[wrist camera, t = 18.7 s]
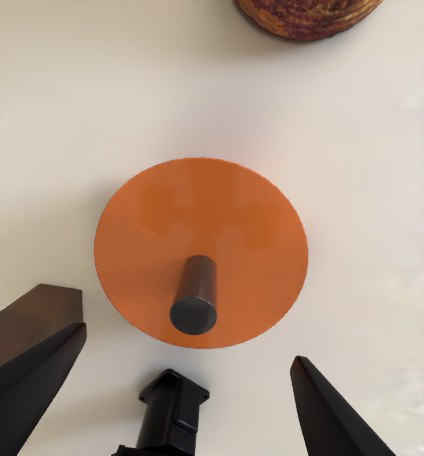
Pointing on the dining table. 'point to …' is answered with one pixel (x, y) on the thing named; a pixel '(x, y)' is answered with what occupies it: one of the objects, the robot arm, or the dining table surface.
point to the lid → (201, 253)
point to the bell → (307, 16)
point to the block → (37, 318)
